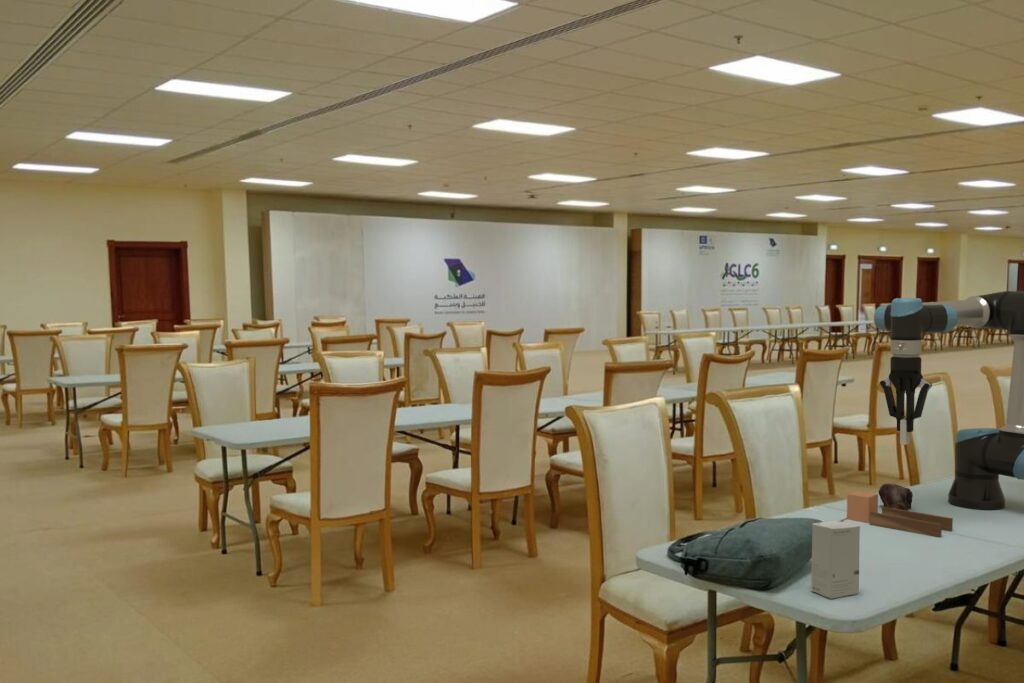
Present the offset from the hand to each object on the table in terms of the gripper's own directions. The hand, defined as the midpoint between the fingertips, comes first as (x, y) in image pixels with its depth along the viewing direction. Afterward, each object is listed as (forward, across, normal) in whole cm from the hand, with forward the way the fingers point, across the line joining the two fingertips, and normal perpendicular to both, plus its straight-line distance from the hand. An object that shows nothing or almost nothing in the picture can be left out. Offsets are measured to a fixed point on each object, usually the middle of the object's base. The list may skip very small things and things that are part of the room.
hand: (904, 443), depth 231 cm
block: (+22, -11, 0) cm, 25 cm away
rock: (+24, -10, +18) cm, 32 cm away
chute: (+24, -2, 0) cm, 24 cm away
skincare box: (+23, +9, -60) cm, 65 cm away
